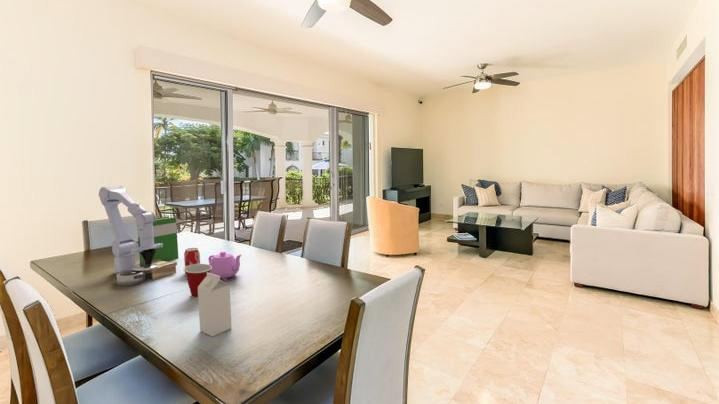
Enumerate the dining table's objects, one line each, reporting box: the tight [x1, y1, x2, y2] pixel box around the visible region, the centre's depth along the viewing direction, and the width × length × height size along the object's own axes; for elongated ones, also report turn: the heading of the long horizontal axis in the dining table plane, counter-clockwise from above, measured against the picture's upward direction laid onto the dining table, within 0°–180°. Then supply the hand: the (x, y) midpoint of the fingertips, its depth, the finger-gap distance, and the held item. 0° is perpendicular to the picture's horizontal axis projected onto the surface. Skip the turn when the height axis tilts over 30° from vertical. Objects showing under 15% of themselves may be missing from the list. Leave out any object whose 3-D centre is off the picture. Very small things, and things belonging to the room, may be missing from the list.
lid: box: [132, 262, 158, 271], centre depth 169 cm, size 11×11×2 cm
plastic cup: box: [183, 263, 212, 298], centre depth 146 cm, size 11×11×12 cm
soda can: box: [183, 247, 201, 267], centre depth 176 cm, size 7×7×12 cm
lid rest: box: [136, 259, 178, 280], centre depth 174 cm, size 13×13×5 cm
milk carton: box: [197, 272, 233, 338], centre depth 115 cm, size 7×7×19 cm
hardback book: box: [136, 216, 179, 264], centre depth 197 cm, size 18×7×24 cm, turn 151°
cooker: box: [115, 270, 147, 287], centre depth 163 cm, size 15×11×4 cm
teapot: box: [208, 251, 242, 282], centre depth 168 cm, size 20×14×12 cm
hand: (148, 264), depth 170 cm, fingers closed
